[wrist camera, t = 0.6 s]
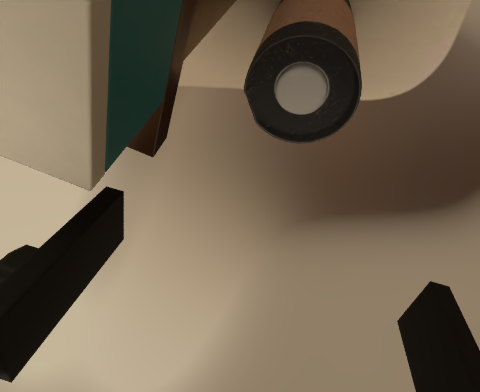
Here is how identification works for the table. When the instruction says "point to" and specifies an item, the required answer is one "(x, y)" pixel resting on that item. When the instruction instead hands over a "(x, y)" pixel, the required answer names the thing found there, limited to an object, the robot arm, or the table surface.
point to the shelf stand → (179, 67)
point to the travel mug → (306, 71)
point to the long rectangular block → (80, 80)
